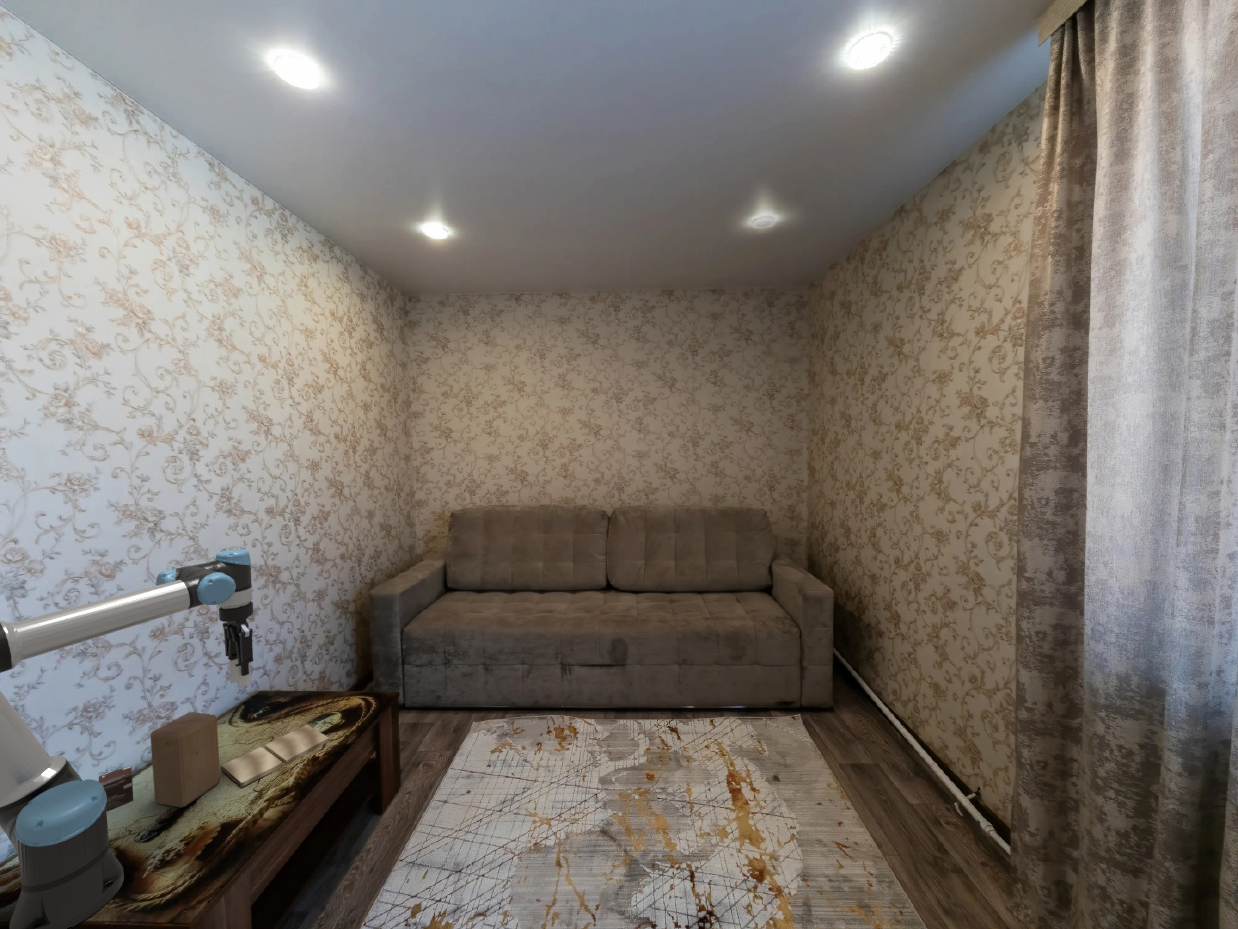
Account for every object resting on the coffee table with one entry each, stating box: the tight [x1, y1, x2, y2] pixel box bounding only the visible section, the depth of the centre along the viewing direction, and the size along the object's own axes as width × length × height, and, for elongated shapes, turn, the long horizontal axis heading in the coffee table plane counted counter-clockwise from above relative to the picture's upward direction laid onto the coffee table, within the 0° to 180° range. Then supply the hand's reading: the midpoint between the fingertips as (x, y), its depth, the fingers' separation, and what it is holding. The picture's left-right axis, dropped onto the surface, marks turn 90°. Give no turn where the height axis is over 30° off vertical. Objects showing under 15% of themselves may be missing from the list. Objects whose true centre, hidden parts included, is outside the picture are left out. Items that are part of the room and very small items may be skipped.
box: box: [98, 765, 134, 812], centre depth 122 cm, size 6×6×7 cm
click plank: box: [220, 746, 284, 788], centre depth 134 cm, size 10×14×1 cm
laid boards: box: [264, 724, 330, 765], centre depth 145 cm, size 12×14×1 cm
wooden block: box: [149, 711, 221, 808], centre depth 125 cm, size 10×10×20 cm
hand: (240, 683), depth 132 cm, fingers open, 4 cm apart
